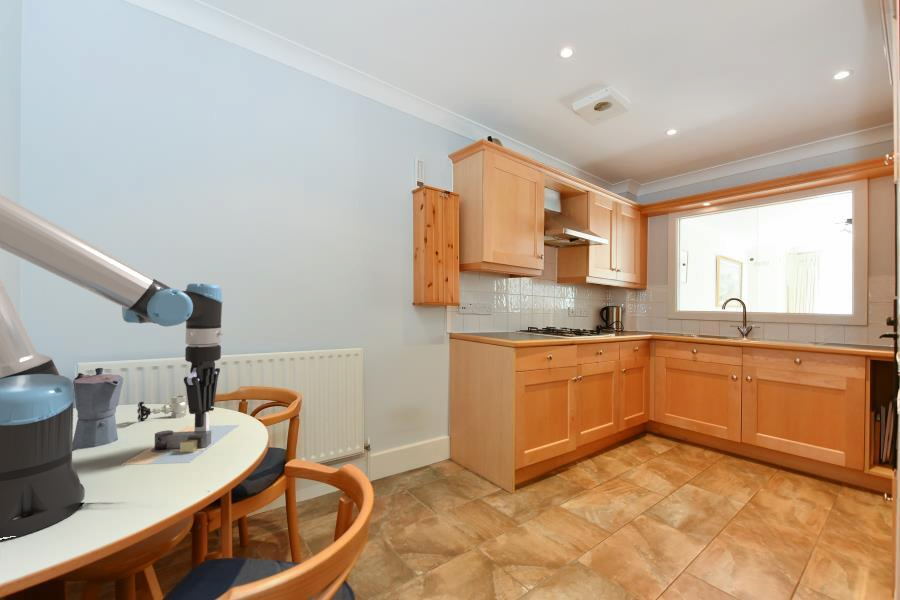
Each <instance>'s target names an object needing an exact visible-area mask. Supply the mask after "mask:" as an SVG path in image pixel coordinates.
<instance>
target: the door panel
mask: <svg viewBox="0 0 900 600" xmlns="http://www.w3.org/2000/svg"><path fill="white" fill-rule="evenodd" d="M239 426H240V424H230V425H229V424H226V425H222V424H221V425H219V424H218V425H217V424H216V425H209V431H211V444H210V445H208V446H207V447H197V451H196V452H194V453H180V448H177V449H165V450H155V449H154V445H153V446H151V447H150V448H147V449H146V450H144V451H142V452H141V453H139V454H137V455H136V456H134V457H131V458H130V459H128V460H126V461H125V462H123V463H122V464H120V466H127V465H128V466H129V465H132V466H133V465H136V466H137V465H159V464H160V465H161V464H163V465H164V464H186V463H187V464H188V463H191V462H192V461H194V460H195V459H196V458H198V457H199V456H201V455H202V454H203V453H204V452H206V451H208V449H210V448H211V447H212V446H214V445H215V444H216V443H218V442H220V440H222V439H223V438H224V437H226V436H227V435H228V434H230V433H231V432H233V430H235V429H237V428H238V427H239ZM188 431H195V425H187V426H185V427H184V428H182V429H181V430H179V431H177V432H188Z"/></svg>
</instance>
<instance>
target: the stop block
mask: <svg viewBox="0 0 900 600" xmlns="http://www.w3.org/2000/svg"><path fill="white" fill-rule="evenodd" d="M196 451H197V440H184V441H182V442H181V443H180V453H194V452H196Z"/></svg>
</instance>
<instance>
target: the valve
mask: <svg viewBox="0 0 900 600" xmlns="http://www.w3.org/2000/svg"><path fill="white" fill-rule="evenodd" d="M144 404H145V403H144V401H139V403H137V408H138V409H137V410H136V412H137V414H138V415H137V420H138V422H145V421H146V419H148V418H149V416H151V414H156V415H157V414H160V413H164V415H166V414H170V413H171V414H170V415H171V417H170V419H181V417H183V418H184V416H185V417H186V414H187V410H186V409H187V407H188V403H187V395H185V394H182V395H181V394H179V395H174V396H172V397H171V403H170V404H169V403H165V404H164V405H162V406H161V407H160V406H157V407H154V408H153V409H151V408H149V407H147V406H145V405H144Z"/></svg>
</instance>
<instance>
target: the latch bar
mask: <svg viewBox="0 0 900 600" xmlns="http://www.w3.org/2000/svg"><path fill="white" fill-rule="evenodd" d="M184 440H197V447H207V446H208V445H210V444H211V431H188V432H178V431H174V430H160V431H158V432H155V433H154V445H153V446H154V449H155V450H165V449H177V448H180V443H181V442H182V441H184Z"/></svg>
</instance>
